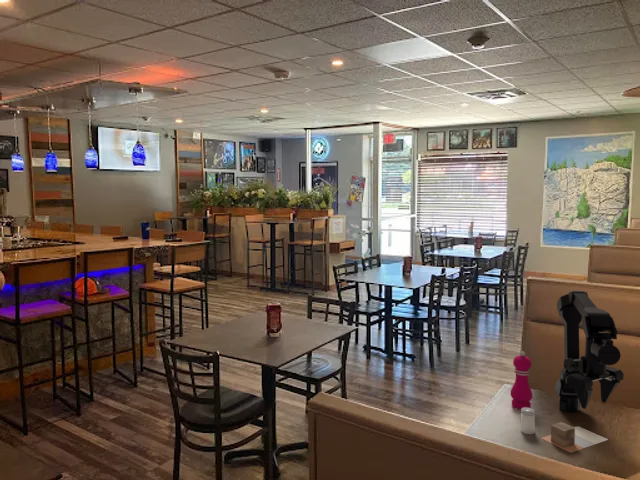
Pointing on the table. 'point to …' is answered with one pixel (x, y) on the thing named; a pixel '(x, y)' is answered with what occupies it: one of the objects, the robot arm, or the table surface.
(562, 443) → the block
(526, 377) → the pepper mill
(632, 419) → the table surface
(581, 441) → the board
